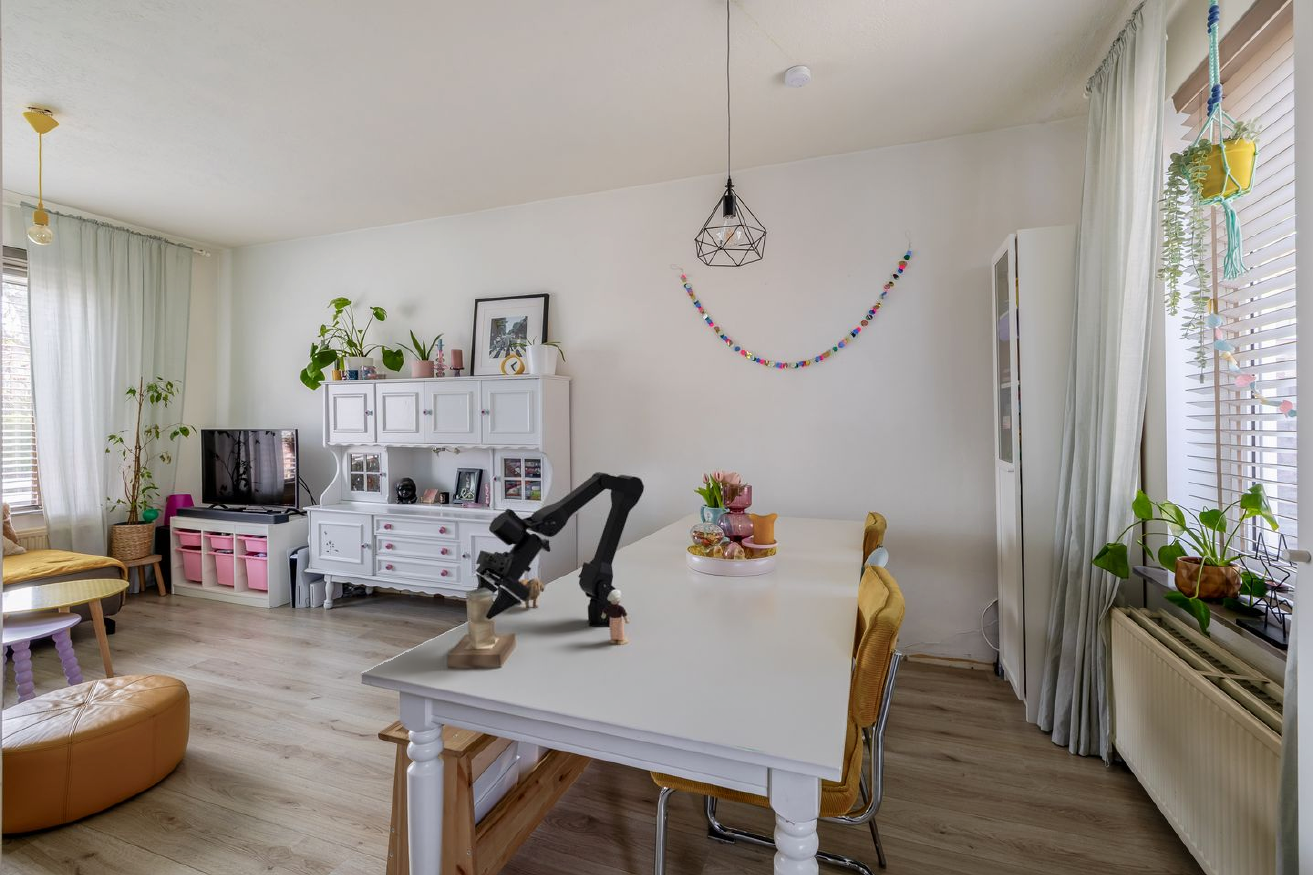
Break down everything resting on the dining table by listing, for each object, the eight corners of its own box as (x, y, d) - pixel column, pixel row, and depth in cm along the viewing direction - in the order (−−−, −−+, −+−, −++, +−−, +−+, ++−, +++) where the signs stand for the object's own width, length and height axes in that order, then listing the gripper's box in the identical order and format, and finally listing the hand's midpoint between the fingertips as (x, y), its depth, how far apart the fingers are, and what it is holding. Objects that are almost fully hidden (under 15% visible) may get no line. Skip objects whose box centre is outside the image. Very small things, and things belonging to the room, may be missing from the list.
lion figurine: (549, 609, 182) (547, 578, 181) (531, 614, 179) (529, 582, 178) (525, 597, 194) (523, 567, 193) (508, 601, 191) (506, 570, 190)
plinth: (515, 645, 157) (515, 632, 157) (501, 667, 145) (500, 653, 145) (466, 646, 158) (465, 633, 158) (447, 668, 146) (446, 654, 146)
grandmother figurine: (634, 639, 158) (632, 588, 157) (628, 646, 155) (626, 593, 154) (605, 637, 161) (602, 586, 160) (598, 643, 157) (596, 591, 156)
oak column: (487, 637, 154) (484, 587, 153) (495, 643, 151) (492, 591, 150) (468, 642, 152) (465, 591, 151) (476, 648, 148) (473, 596, 147)
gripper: (481, 530, 160) (439, 584, 154) (514, 543, 145) (468, 604, 139) (513, 556, 165) (473, 609, 159) (548, 571, 150) (505, 631, 145)
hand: (479, 612), depth 150 cm, fingers open, 9 cm apart
